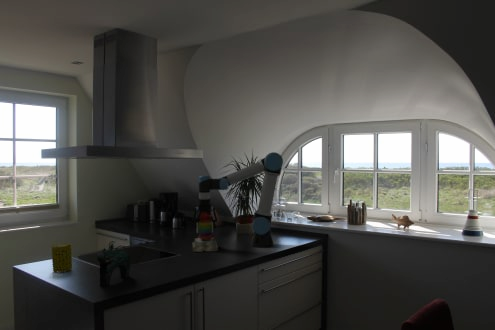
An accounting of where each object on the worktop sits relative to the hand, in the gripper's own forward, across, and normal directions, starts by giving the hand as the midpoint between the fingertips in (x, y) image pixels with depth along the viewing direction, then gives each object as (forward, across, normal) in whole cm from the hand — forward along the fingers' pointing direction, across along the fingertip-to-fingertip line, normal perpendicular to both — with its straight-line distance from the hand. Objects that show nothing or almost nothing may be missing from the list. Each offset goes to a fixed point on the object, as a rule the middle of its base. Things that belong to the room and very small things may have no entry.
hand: (204, 232), depth 261 cm
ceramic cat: (+11, +47, +64) cm, 80 cm away
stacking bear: (+4, 0, 0) cm, 4 cm away
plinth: (+11, 0, 0) cm, 11 cm away
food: (+11, +78, +40) cm, 88 cm away
